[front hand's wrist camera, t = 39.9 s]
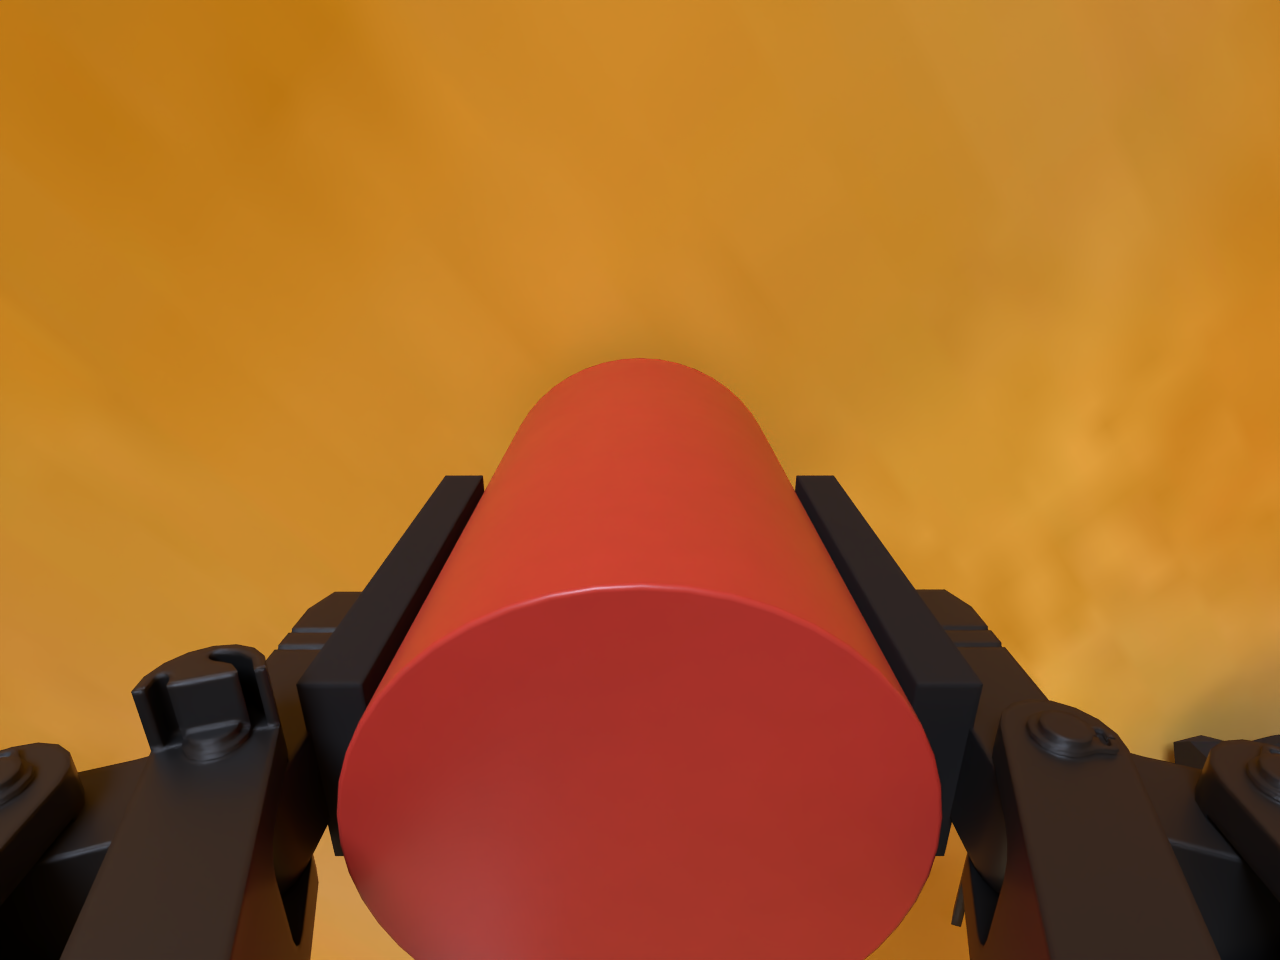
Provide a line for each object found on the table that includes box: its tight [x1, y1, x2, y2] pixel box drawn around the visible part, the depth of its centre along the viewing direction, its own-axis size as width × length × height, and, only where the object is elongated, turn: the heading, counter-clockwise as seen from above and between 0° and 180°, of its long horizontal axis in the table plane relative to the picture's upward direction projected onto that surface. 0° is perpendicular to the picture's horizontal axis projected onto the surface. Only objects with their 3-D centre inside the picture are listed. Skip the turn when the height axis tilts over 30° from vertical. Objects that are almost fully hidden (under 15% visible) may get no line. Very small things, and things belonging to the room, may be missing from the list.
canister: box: [337, 358, 942, 960], centre depth 12 cm, size 6×6×10 cm
